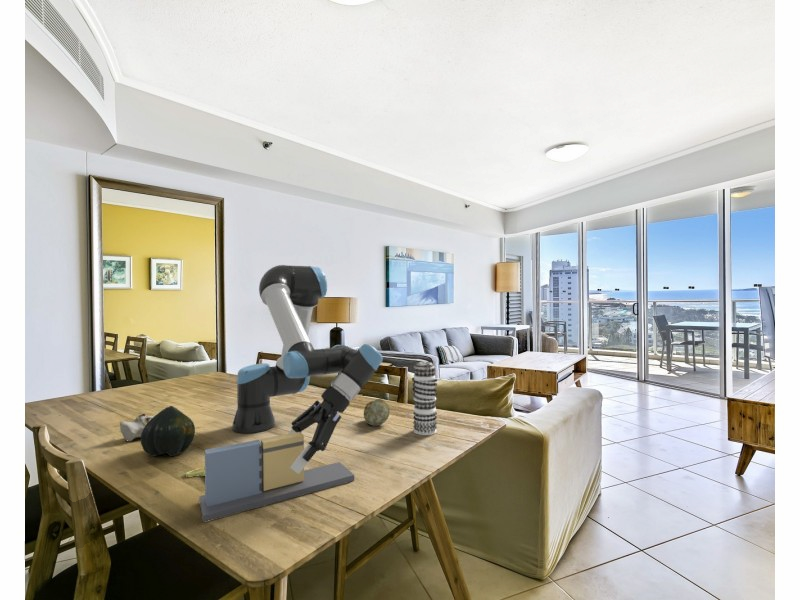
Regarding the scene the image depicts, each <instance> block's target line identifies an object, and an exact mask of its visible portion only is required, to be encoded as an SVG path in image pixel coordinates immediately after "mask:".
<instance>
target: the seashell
mask: <svg viewBox="0 0 800 600" xmlns="http://www.w3.org/2000/svg"><path fill="white" fill-rule="evenodd" d="M390 411H391V409H390V406H389V404H388V402H386V401H385V400H384V399H380V398H377V399H374V400H371V401H369V402H368V403H367V404H366V405H365V407H364V410H363V418H364V421H365V422H366V423H367V424H368V425H370V426H380V425H382V424H384V423H386V421H387V420H388V419H389V417H390Z"/></svg>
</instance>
